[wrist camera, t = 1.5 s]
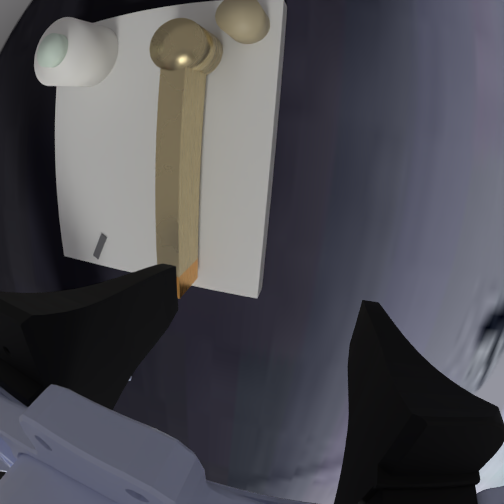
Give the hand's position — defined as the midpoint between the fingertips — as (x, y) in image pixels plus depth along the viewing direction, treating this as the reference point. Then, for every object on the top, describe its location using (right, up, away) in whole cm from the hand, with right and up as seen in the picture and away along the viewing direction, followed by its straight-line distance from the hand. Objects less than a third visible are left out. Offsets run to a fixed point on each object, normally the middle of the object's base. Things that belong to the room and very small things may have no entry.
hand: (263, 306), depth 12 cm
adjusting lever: (-4, +8, +8) cm, 12 cm away
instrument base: (-8, +10, +10) cm, 16 cm away
